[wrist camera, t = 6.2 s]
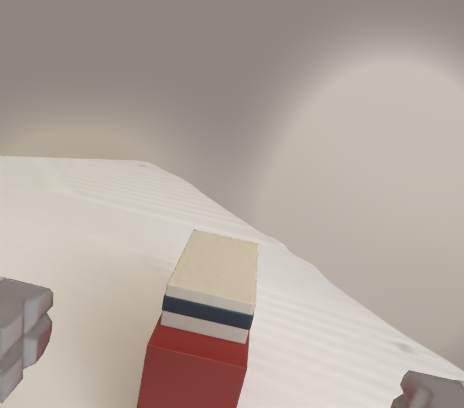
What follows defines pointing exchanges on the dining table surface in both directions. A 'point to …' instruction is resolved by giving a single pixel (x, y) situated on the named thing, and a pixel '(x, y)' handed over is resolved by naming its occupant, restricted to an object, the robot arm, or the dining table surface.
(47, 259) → the dining table surface
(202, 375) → the car
